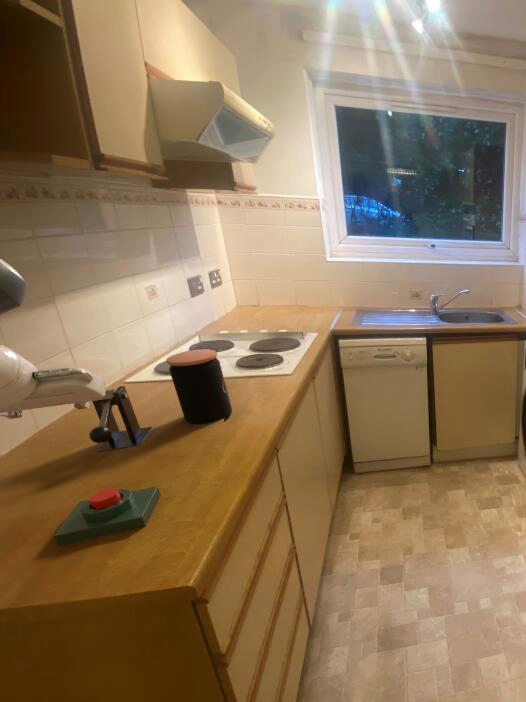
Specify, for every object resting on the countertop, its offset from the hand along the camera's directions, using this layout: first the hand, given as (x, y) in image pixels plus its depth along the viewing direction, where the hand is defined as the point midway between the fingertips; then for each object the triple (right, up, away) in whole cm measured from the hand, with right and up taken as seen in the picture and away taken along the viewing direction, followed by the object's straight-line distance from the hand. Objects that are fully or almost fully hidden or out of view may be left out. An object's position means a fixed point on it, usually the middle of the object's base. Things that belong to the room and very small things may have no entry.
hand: (51, 409), depth 79 cm
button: (+11, -17, 0) cm, 20 cm away
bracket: (-9, -10, +26) cm, 29 cm away
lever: (-7, -4, +19) cm, 21 cm away
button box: (+11, -20, +1) cm, 23 cm away
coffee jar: (+2, -5, +38) cm, 38 cm away
